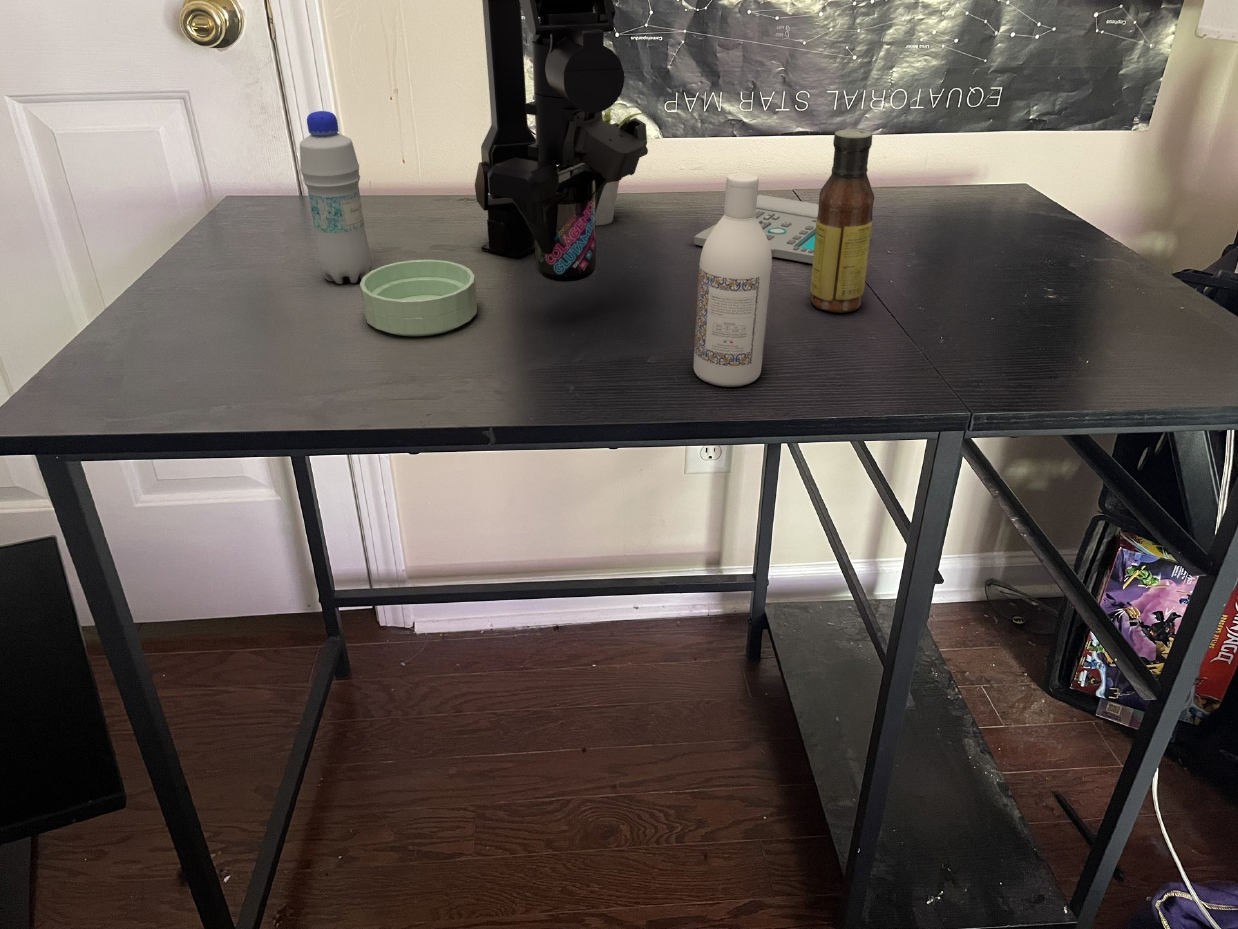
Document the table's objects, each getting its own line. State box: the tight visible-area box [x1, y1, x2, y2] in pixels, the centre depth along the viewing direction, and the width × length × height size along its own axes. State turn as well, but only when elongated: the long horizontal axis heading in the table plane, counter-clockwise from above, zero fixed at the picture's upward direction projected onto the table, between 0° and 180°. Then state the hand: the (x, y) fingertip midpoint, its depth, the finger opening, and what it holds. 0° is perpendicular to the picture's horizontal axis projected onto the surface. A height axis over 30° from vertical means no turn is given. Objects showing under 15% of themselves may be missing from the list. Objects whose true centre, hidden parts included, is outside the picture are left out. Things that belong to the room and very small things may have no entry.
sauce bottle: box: [809, 128, 875, 314], centre depth 103 cm, size 7×6×20 cm
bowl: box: [359, 259, 478, 337], centre depth 103 cm, size 13×13×4 cm
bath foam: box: [693, 172, 773, 388], centre depth 87 cm, size 7×7×20 cm
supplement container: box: [534, 169, 597, 283], centre depth 97 cm, size 7×7×10 cm
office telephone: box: [693, 194, 819, 265], centre depth 128 cm, size 23×3×20 cm
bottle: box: [299, 110, 372, 285], centre depth 108 cm, size 7×7×20 cm
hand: (566, 244), depth 98 cm, fingers closed on supplement container, 7 cm apart
